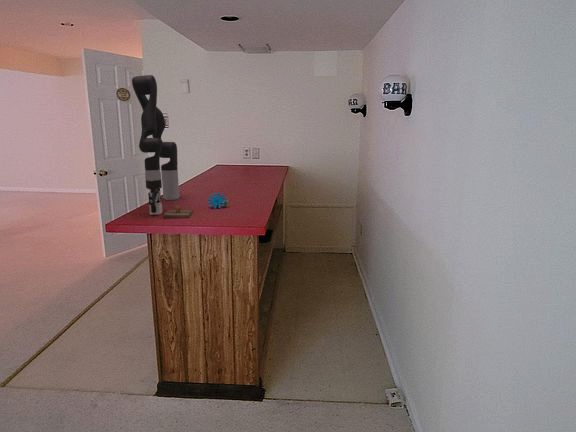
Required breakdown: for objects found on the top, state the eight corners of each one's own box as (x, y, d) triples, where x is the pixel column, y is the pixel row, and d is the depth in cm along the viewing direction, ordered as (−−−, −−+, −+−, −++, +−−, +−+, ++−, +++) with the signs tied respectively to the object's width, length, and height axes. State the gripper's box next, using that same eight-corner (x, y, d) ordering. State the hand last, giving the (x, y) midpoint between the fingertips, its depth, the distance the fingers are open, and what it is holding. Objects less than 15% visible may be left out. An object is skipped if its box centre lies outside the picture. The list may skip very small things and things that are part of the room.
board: (168, 212, 208) (168, 203, 207) (192, 212, 209) (192, 203, 208) (163, 218, 197) (162, 208, 195) (188, 217, 197) (188, 208, 196)
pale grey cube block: (152, 212, 209) (151, 202, 208) (162, 212, 209) (161, 202, 208) (149, 214, 204) (149, 204, 203) (160, 214, 205) (159, 204, 203)
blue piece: (205, 206, 215) (209, 190, 221) (206, 211, 221) (211, 196, 226) (225, 209, 215) (230, 193, 220) (226, 214, 220) (230, 199, 225)
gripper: (149, 176, 209) (151, 207, 213) (141, 181, 195) (144, 214, 199) (164, 176, 210) (166, 207, 214) (157, 180, 196) (160, 213, 200)
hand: (155, 210), depth 206 cm, fingers open, 8 cm apart
